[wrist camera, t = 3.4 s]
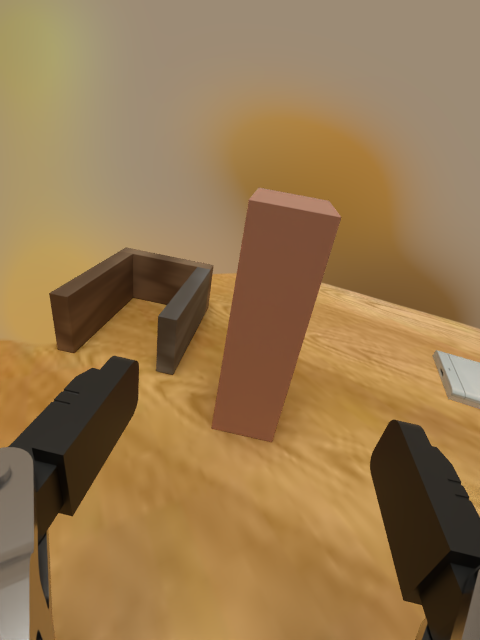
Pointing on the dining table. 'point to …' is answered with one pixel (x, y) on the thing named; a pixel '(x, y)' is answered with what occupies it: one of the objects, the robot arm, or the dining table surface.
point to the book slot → (139, 282)
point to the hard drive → (459, 378)
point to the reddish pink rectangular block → (271, 307)
